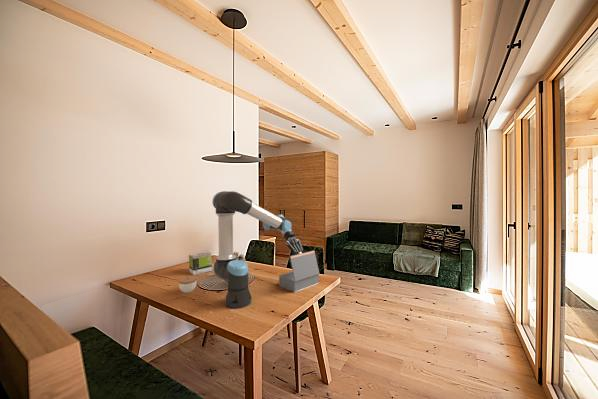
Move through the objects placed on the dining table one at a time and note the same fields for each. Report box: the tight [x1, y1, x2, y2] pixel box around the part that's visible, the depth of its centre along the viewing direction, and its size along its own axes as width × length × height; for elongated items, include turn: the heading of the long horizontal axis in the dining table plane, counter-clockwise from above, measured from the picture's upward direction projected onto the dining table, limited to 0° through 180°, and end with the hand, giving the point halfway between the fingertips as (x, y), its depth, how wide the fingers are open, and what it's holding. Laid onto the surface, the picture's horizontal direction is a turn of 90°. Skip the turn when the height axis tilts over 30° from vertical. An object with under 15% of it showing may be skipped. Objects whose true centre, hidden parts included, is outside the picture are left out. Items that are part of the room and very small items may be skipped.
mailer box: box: [278, 271, 320, 293], centre depth 173 cm, size 22×16×7 cm
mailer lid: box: [289, 250, 320, 281], centre depth 168 cm, size 22×16×1 cm
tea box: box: [188, 250, 213, 276], centre depth 203 cm, size 15×10×15 cm
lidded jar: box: [178, 276, 197, 294], centre depth 164 cm, size 11×11×9 cm
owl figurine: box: [233, 251, 246, 262], centre depth 199 cm, size 18×12×17 cm, turn 151°
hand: (303, 261), depth 171 cm, fingers closed
